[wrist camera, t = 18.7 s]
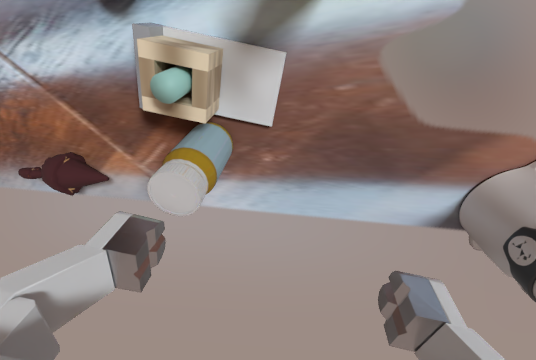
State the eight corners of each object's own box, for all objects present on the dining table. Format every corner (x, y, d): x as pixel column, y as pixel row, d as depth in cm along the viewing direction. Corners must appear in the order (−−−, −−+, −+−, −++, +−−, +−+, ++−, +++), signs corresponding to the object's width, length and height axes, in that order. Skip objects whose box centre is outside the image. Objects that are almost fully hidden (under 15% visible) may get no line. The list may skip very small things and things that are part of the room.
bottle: (210, 167, 45) (173, 227, 32) (182, 134, 42) (130, 185, 29) (242, 148, 42) (216, 205, 29) (215, 112, 39) (173, 157, 27)
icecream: (86, 162, 39) (5, 151, 41) (93, 207, 41) (16, 194, 44) (120, 153, 46) (48, 144, 48) (124, 192, 48) (55, 182, 50)
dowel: (205, 87, 36) (180, 105, 29) (182, 85, 36) (152, 102, 29) (203, 62, 35) (177, 74, 27) (180, 60, 35) (147, 71, 27)
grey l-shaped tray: (286, 52, 34) (284, 56, 30) (272, 124, 39) (269, 135, 35) (151, 23, 34) (132, 23, 30) (155, 99, 39) (139, 107, 35)
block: (223, 48, 33) (208, 54, 28) (218, 109, 37) (205, 123, 32) (162, 35, 33) (136, 38, 28) (164, 97, 37) (142, 110, 32)
